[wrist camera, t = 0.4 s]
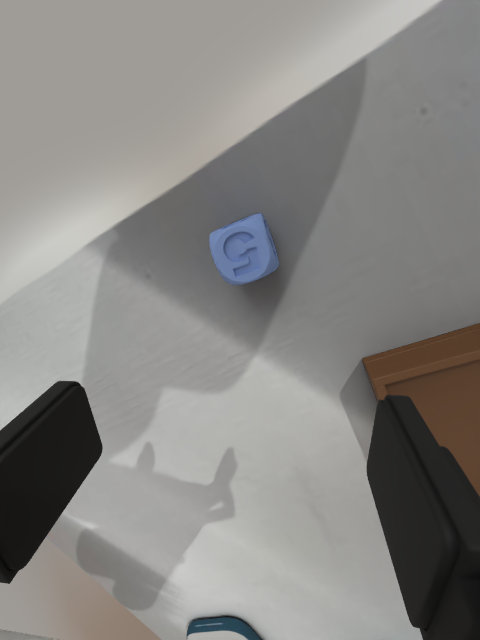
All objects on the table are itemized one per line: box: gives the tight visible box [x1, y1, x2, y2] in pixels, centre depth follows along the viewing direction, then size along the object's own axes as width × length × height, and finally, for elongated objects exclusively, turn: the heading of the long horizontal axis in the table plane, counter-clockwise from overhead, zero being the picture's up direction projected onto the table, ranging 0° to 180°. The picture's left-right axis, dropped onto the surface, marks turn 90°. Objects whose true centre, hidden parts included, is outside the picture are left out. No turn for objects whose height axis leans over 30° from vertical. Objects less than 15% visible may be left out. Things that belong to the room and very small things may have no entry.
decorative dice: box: [209, 213, 279, 285], centre depth 22 cm, size 4×4×4 cm
